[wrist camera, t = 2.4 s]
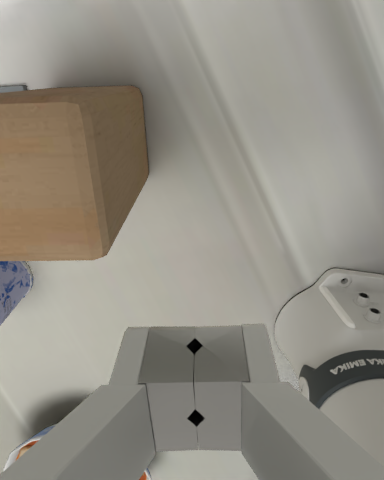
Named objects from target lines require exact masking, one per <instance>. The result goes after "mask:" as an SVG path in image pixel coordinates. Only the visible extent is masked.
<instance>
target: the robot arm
mask: <svg viewBox="0 0 384 480" xmlns="http://www.w3.org/2000/svg"><path fill="white" fill-rule="evenodd" d="M343 278H346V279H345V280H344V281H341V280H342V279H343ZM274 334H275V340H276V343H277V345H278V347H279V349H280V350H281V352H282V353H283V354H284V355H285V357H286V358H287V360H288V361H289V363H290V365H291V366H292V368H293V370H294V372H295V374H296V376H297V378H298V380H299V390H300V392H299V391H298V390H297V389H295V388H294V387H293V386H292V385H291V384H290V383H289V382H280V378H279V374H278V370H277V367H276V363H275V359H274V355H273V351H272V347H271V343H270V339H269V335H268V332H267V328H266V326H265V324H264V323H263V324H243V325H241V326H240V325H233V326H201V327H195V326H193V327H128V328H127V330H126V331H125V333H124V336H123V339H122V342H121V346H120V349H119V352H118V356H117V359H116V362H115V365H114V369H113V372H112V375H111V378H110V382H109V385H101V386H100V387H99V388H98V389H96V390H95V391H94V392H93V393H92V394H91V395H90V396H89V397H87V398H86V399H85V400H84V401H83V402H82V403H81V404H79V405H78V406H77V407H76V408H75V409H74V410H73V411H72V412H70V413H69V414H68V415H67V416H66V417H65V418H64V419H62V420H61V421H60V422H59V423H58V424H57V425H56V426H55V427H53V428H52V429H51V430H50V431H49V432H48V433H47V434H45V435H44V436H43V437H42V438H41V439H40V440H39V441H38V442H36V443H35V444H34V445H33V446H32V447H31V448H30V449H28V450H27V451H26V452H25V453H24V454H23V455H22V456H21V457H19V458H18V459H17V460H16V461H15V462H14V463H13V464H12V465H10V466H9V467H8V468H7V469H6V470H5V471H4V472H2V473H1V474H0V480H139V479H140V477H141V476H142V474H143V473H144V471H145V470H146V468H147V467H148V465H149V464H150V462H151V461H152V459H153V458H154V456H155V455H156V453H155V451H181V450H198V446H199V450H230V451H242V455H243V456H244V458H245V459H246V461H247V462H248V464H249V465H250V467H251V468H252V470H253V471H254V473H255V474H256V476H257V477H258V479H259V480H384V275H381V274H374V273H367V272H360V271H352V270H345V269H338V268H334V269H330V270H328V271H327V272H325V273H324V274H323V275H322V276H321V277H320V279H319V280H318V281H317V282H316V283H315V284H314V285H313V286H312V287H310V288H309V289H307V290H305V291H303V292H301V293H300V294H298V295H297V296H295V297H294V298H293V299H291V300H290V301H289V302H288V303H287V304H286V305H285V306H284V308H283V309H282V310H281V312H280V314H279V315H278V318H277V320H276V323H275V329H274Z"/></svg>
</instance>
